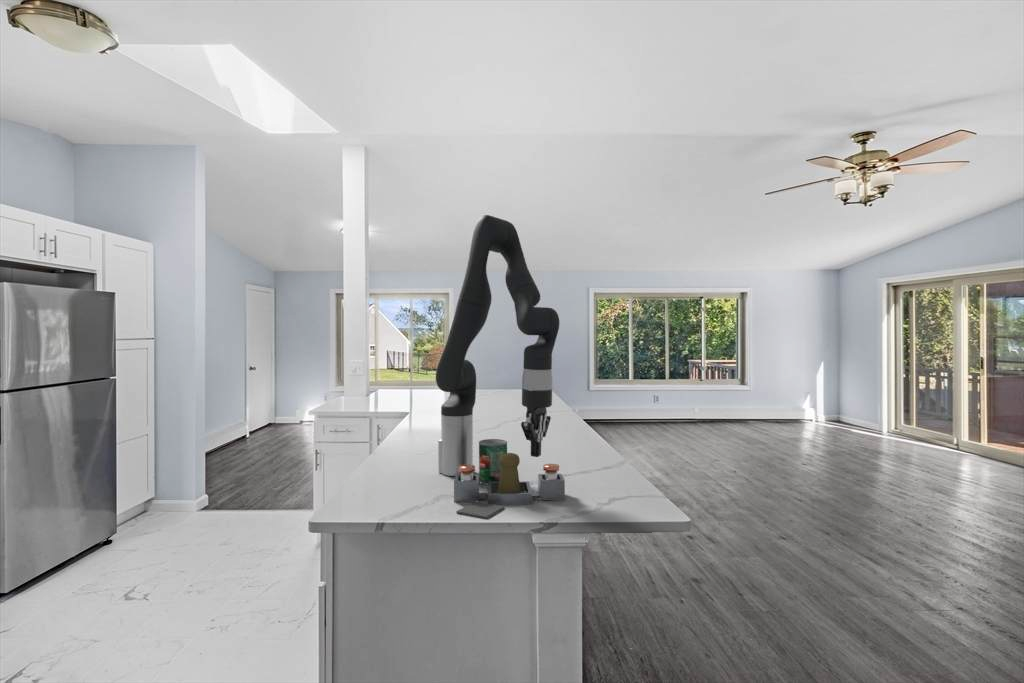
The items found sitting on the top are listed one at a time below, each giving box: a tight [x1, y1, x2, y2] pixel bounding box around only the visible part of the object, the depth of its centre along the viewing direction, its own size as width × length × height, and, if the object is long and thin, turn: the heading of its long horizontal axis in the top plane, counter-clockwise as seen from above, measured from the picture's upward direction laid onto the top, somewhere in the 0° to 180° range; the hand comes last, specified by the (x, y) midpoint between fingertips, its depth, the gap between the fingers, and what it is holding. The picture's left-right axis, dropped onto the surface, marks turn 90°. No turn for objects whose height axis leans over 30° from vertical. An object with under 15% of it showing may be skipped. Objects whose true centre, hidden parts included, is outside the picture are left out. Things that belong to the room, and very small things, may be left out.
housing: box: [453, 473, 566, 505], centre depth 134 cm, size 27×11×5 cm, turn 92°
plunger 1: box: [459, 464, 476, 480], centre depth 133 cm, size 4×4×7 cm
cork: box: [497, 452, 522, 493], centre depth 134 cm, size 6×6×11 cm
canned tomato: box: [478, 438, 508, 485], centre depth 149 cm, size 8×8×11 cm
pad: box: [456, 501, 505, 520], centre depth 124 cm, size 8×8×1 cm
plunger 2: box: [542, 463, 560, 480], centre depth 134 cm, size 4×4×7 cm
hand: (535, 456), depth 134 cm, fingers closed
